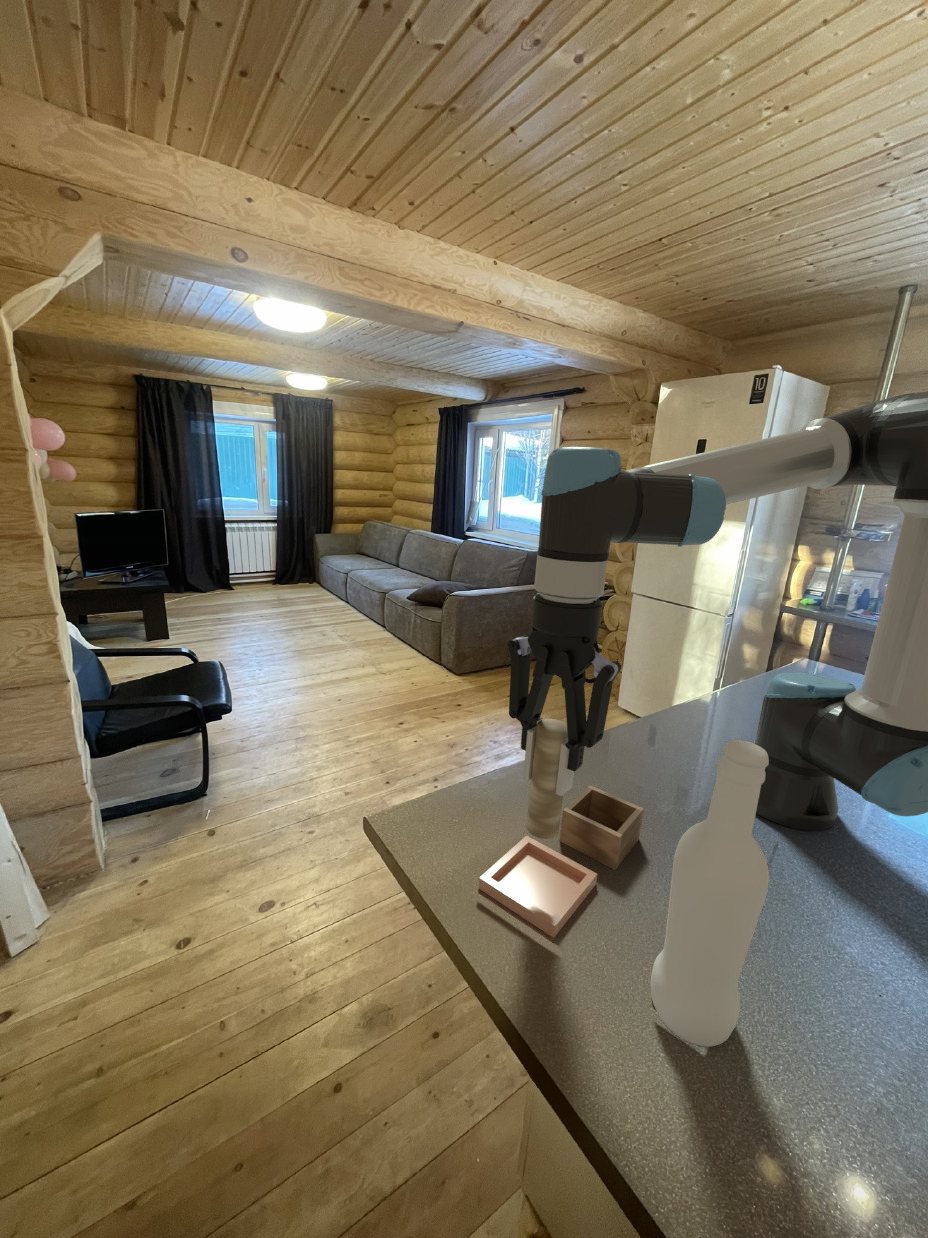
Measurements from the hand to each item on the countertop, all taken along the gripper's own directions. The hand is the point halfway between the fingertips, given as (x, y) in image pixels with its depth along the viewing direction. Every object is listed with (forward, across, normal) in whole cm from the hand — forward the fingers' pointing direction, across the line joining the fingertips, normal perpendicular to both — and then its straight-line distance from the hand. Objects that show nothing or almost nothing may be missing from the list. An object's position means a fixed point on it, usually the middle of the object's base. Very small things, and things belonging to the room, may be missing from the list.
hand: (547, 782), depth 63 cm
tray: (+16, 0, 0) cm, 16 cm away
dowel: (+7, 0, 0) cm, 7 cm away
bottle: (+16, -20, +3) cm, 26 cm away
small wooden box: (+16, -2, -14) cm, 22 cm away
